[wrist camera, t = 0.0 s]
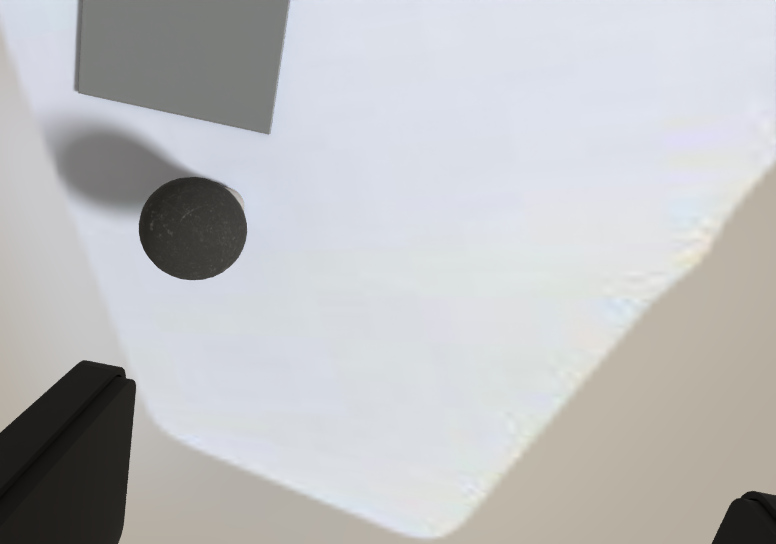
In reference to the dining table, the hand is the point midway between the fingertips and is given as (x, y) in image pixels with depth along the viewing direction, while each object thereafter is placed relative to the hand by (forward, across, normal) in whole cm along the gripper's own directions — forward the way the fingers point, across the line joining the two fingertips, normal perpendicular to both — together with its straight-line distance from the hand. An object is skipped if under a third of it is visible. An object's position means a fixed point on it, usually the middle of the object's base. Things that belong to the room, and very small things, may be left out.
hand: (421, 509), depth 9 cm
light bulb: (+31, +11, +4) cm, 34 cm away
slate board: (+31, +15, -10) cm, 36 cm away
